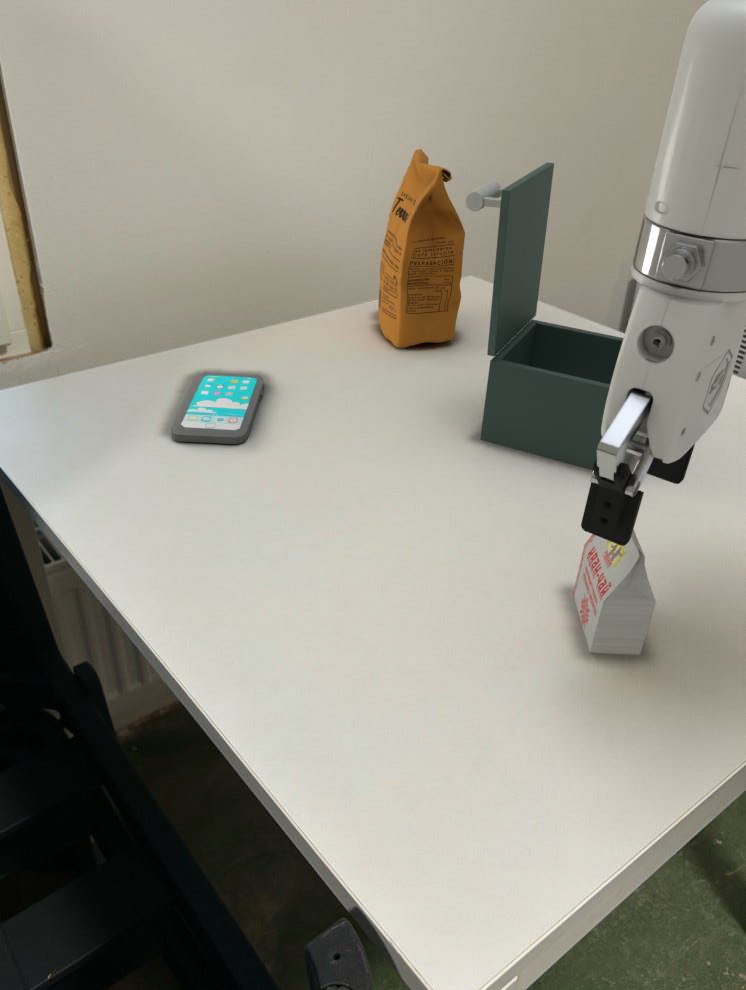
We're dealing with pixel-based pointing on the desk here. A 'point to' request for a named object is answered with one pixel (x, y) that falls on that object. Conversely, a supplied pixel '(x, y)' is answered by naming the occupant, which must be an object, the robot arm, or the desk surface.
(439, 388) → the desk surface
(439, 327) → the coffee package
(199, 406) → the smartphone
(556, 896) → the desk surface
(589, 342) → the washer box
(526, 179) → the green box lid
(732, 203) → the robot arm
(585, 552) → the white paper food bag
